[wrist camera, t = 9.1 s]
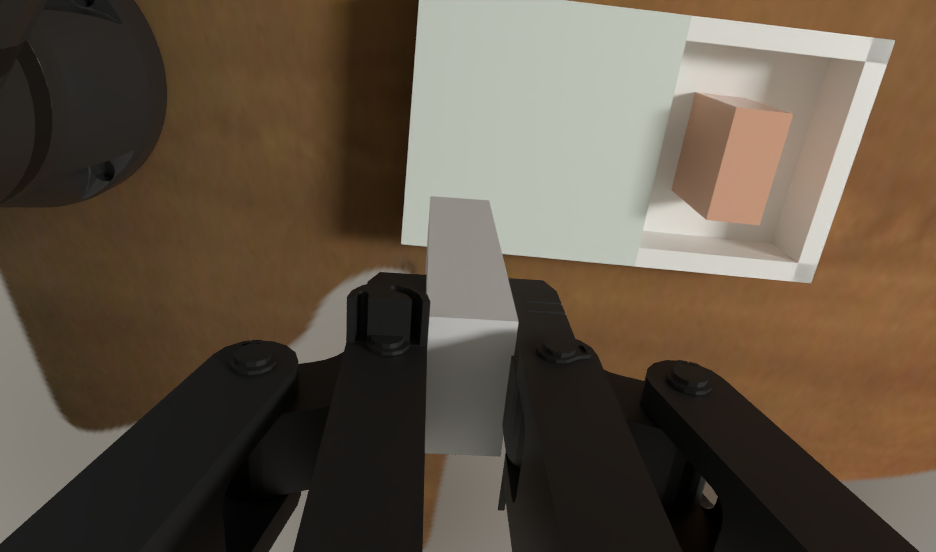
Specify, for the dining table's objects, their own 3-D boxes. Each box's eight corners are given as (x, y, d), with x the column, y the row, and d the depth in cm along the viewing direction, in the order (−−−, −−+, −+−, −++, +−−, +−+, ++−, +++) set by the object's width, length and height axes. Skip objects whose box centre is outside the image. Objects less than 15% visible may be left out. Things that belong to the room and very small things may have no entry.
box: (618, 243, 42) (634, 266, 38) (667, 14, 37) (691, 15, 33) (780, 259, 43) (811, 283, 39) (851, 36, 37) (895, 40, 34)
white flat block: (405, 222, 41) (401, 244, 38) (423, -16, 36) (420, -18, 32) (618, 243, 42) (634, 266, 38) (667, 14, 37) (691, 15, 33)
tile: (706, 219, 35) (759, 225, 35) (736, 107, 32) (793, 113, 33) (671, 190, 40) (717, 194, 40) (695, 92, 38) (744, 97, 38)
